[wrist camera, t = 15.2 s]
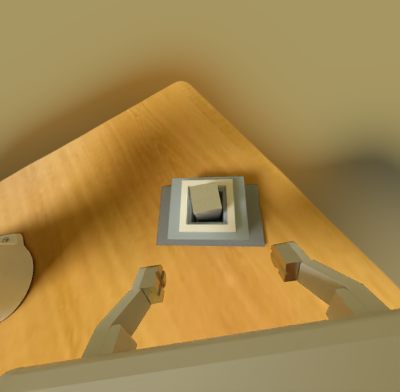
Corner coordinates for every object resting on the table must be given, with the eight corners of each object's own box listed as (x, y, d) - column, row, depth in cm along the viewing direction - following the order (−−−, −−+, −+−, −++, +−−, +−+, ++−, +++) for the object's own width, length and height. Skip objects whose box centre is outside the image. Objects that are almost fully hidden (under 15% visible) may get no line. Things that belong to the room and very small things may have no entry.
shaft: (201, 224, 28) (193, 213, 17) (198, 207, 29) (189, 186, 18) (218, 221, 27) (222, 208, 17) (215, 203, 29) (216, 181, 18)
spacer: (180, 232, 22) (179, 231, 20) (183, 183, 24) (181, 180, 23) (234, 232, 21) (235, 231, 20) (231, 182, 23) (232, 179, 22)
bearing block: (158, 244, 28) (141, 245, 21) (163, 188, 32) (150, 173, 25) (263, 246, 26) (279, 247, 20) (256, 186, 30) (267, 170, 23)
